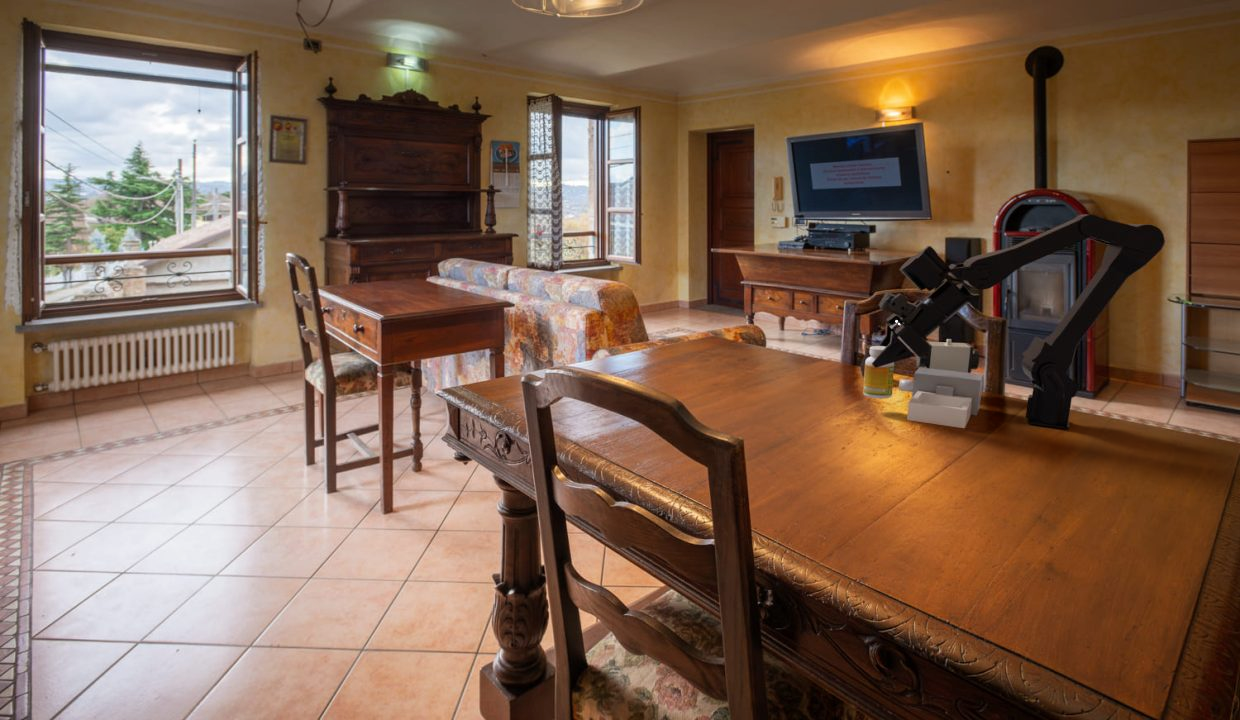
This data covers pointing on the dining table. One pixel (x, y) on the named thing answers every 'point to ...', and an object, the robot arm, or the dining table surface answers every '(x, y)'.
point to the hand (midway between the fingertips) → (872, 362)
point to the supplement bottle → (878, 376)
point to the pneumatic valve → (950, 357)
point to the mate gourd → (866, 358)
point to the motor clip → (943, 396)
